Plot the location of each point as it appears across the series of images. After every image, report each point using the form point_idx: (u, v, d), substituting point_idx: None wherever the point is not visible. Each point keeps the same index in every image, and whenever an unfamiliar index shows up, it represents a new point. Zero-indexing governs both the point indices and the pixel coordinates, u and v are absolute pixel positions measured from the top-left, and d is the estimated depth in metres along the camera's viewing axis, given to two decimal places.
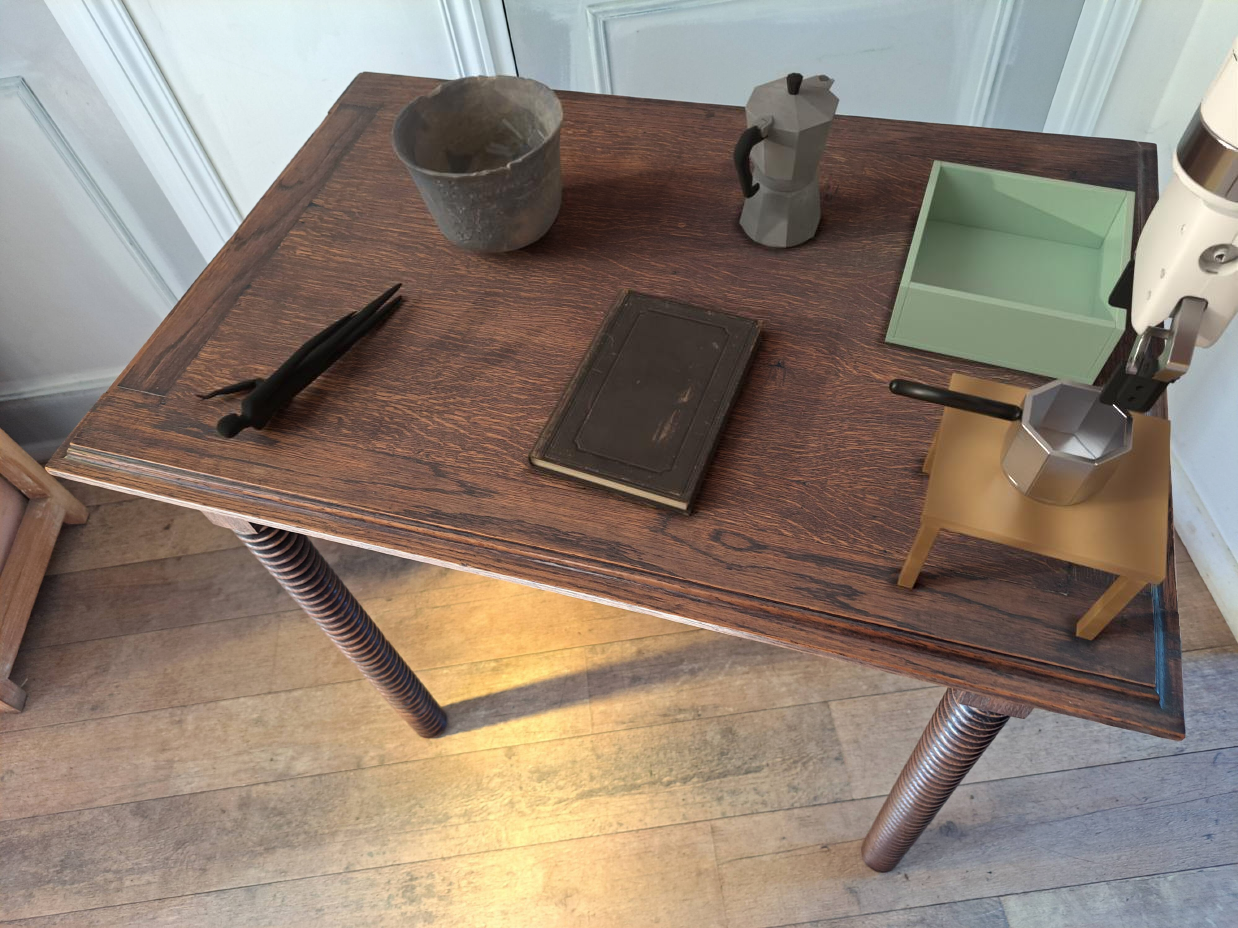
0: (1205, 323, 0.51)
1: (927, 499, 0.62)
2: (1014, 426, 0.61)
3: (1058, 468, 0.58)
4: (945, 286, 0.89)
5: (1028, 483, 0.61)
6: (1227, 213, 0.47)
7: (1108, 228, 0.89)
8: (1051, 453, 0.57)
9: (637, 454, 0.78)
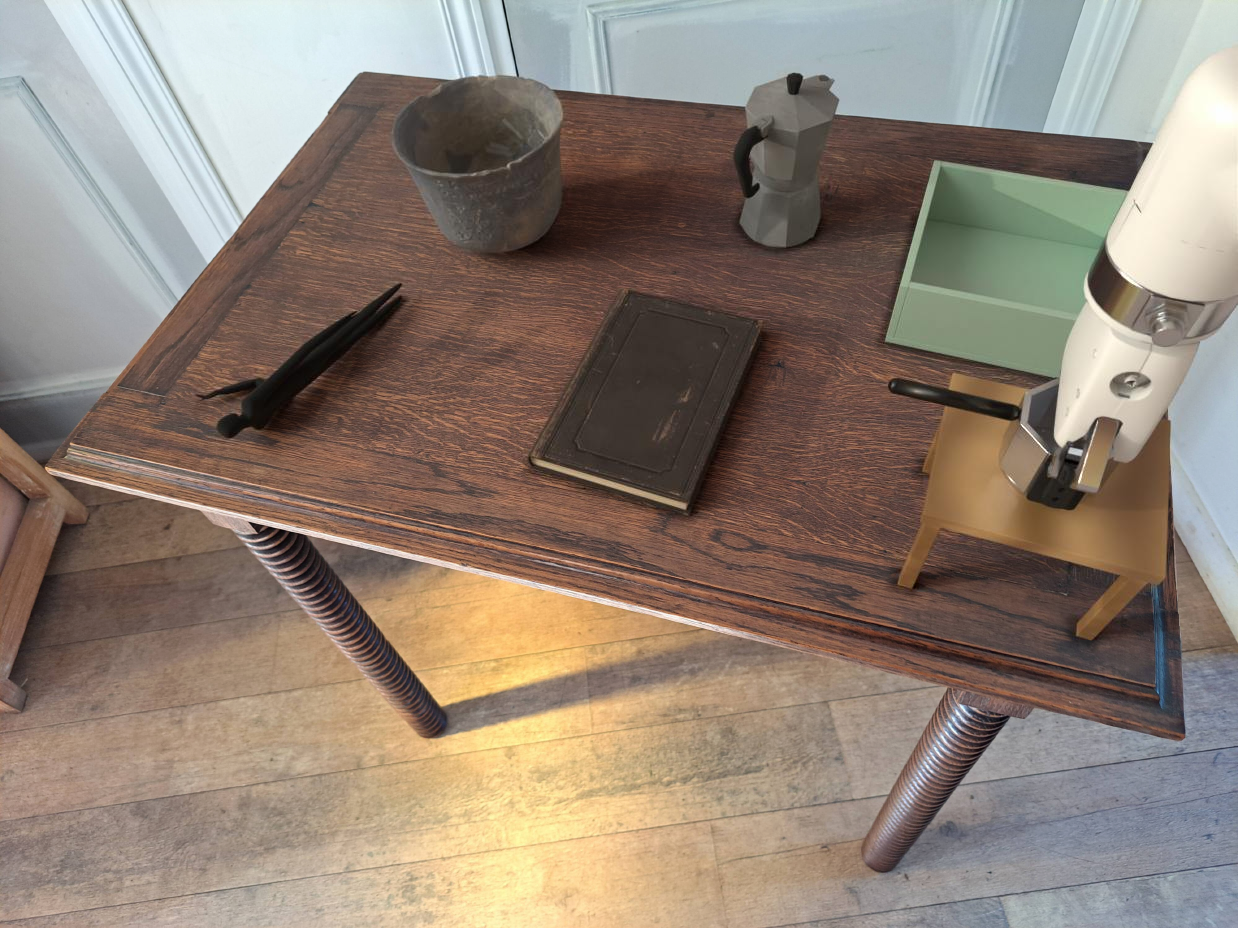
0: (1122, 441, 0.52)
1: (927, 499, 0.62)
2: (1013, 425, 0.61)
3: None
4: (945, 286, 0.89)
5: (1026, 482, 0.61)
6: (1134, 343, 0.47)
7: (1108, 228, 0.89)
8: (1049, 452, 0.57)
9: (637, 454, 0.78)
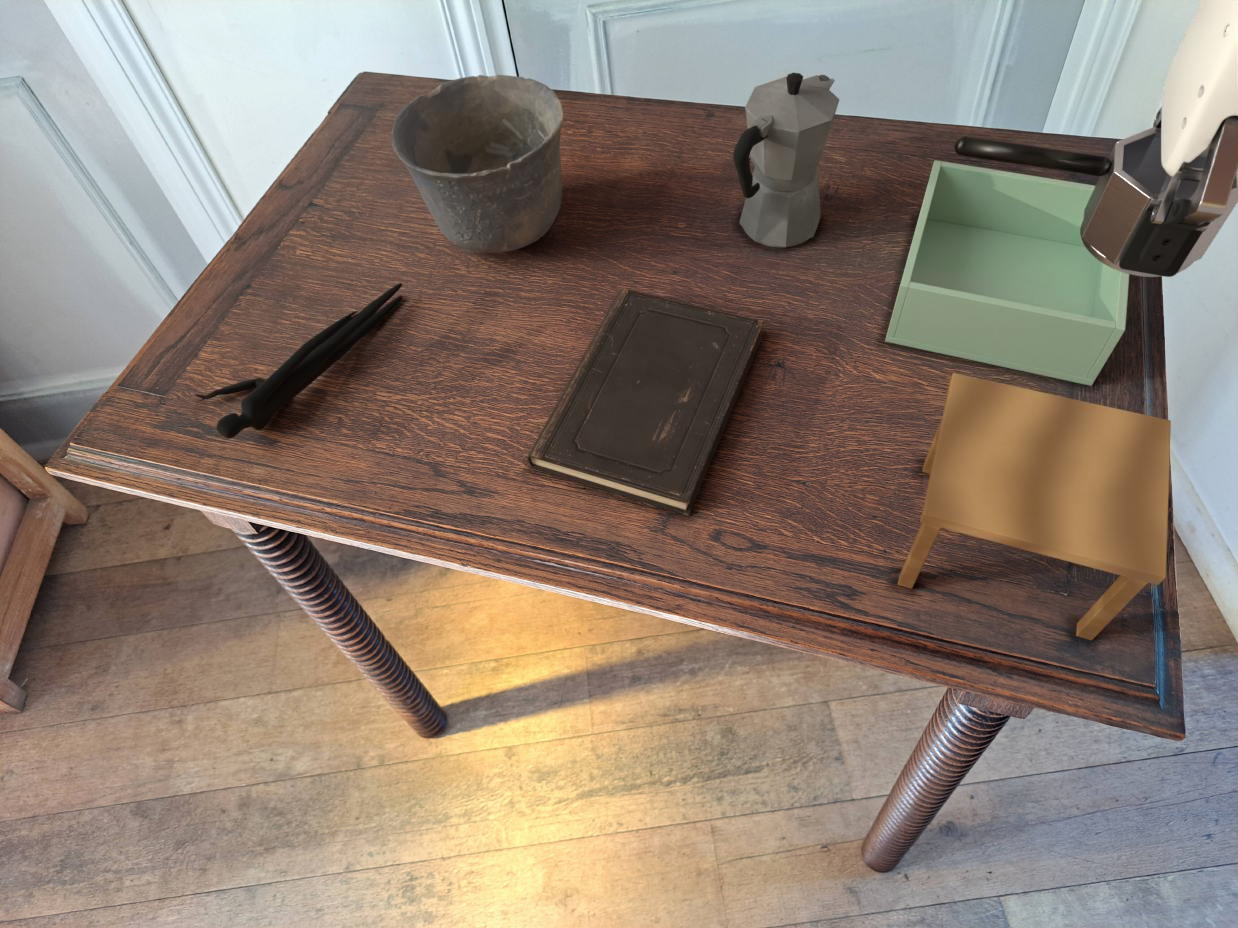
0: None
1: (927, 499, 0.62)
2: (1101, 185, 0.53)
3: None
4: (945, 286, 0.89)
5: (1118, 248, 0.52)
6: None
7: None
8: (1152, 197, 0.49)
9: (637, 454, 0.78)
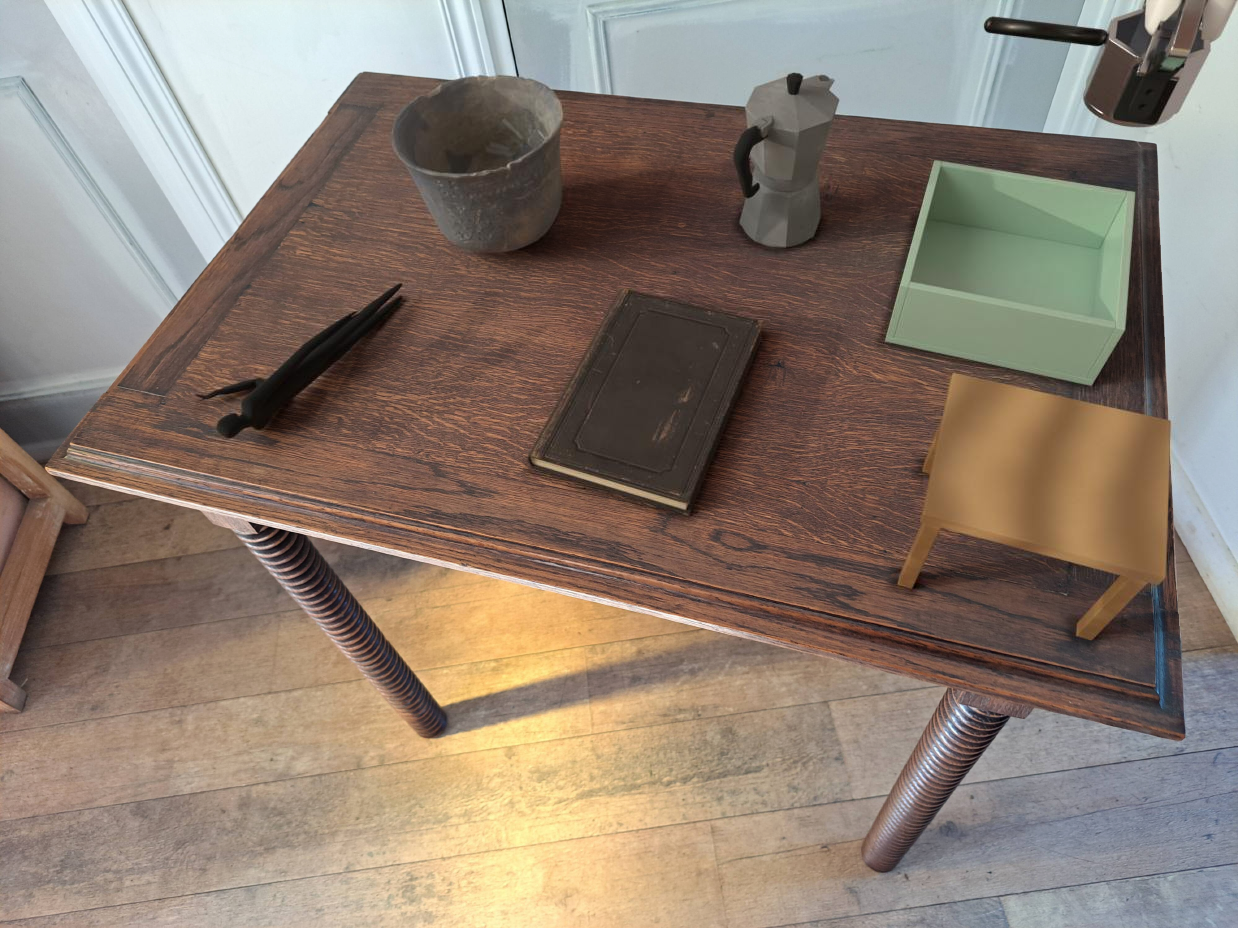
0: (1211, 9, 0.58)
1: (927, 499, 0.62)
2: (1099, 54, 0.67)
3: None
4: (945, 286, 0.89)
5: (1112, 103, 0.67)
6: None
7: (1108, 228, 0.89)
8: (1138, 56, 0.63)
9: (637, 454, 0.78)
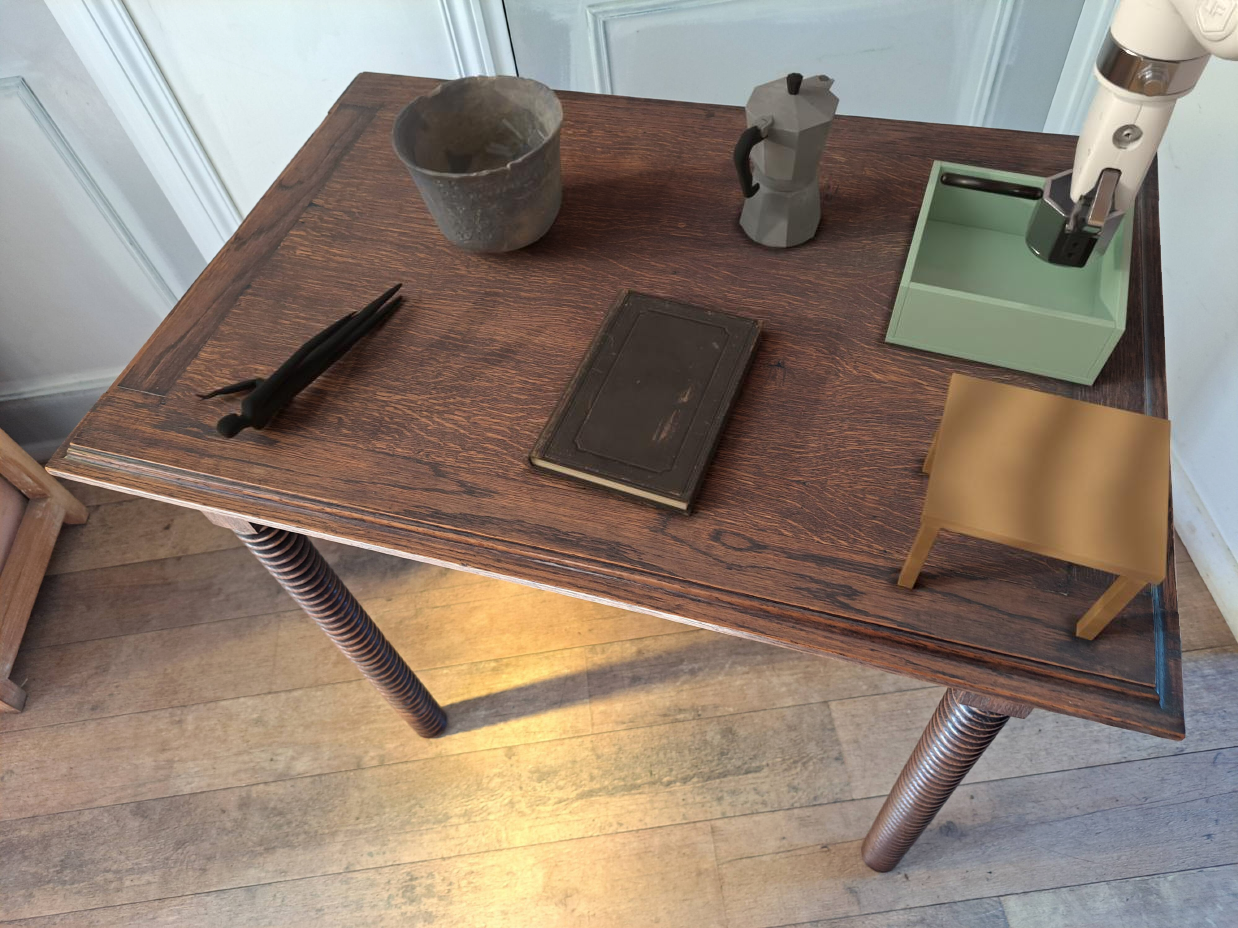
0: (1121, 189, 0.70)
1: (927, 499, 0.62)
2: (1037, 206, 0.80)
3: None
4: (945, 286, 0.89)
5: (1047, 248, 0.79)
6: (1129, 101, 0.66)
7: None
8: (1066, 215, 0.76)
9: (637, 454, 0.78)
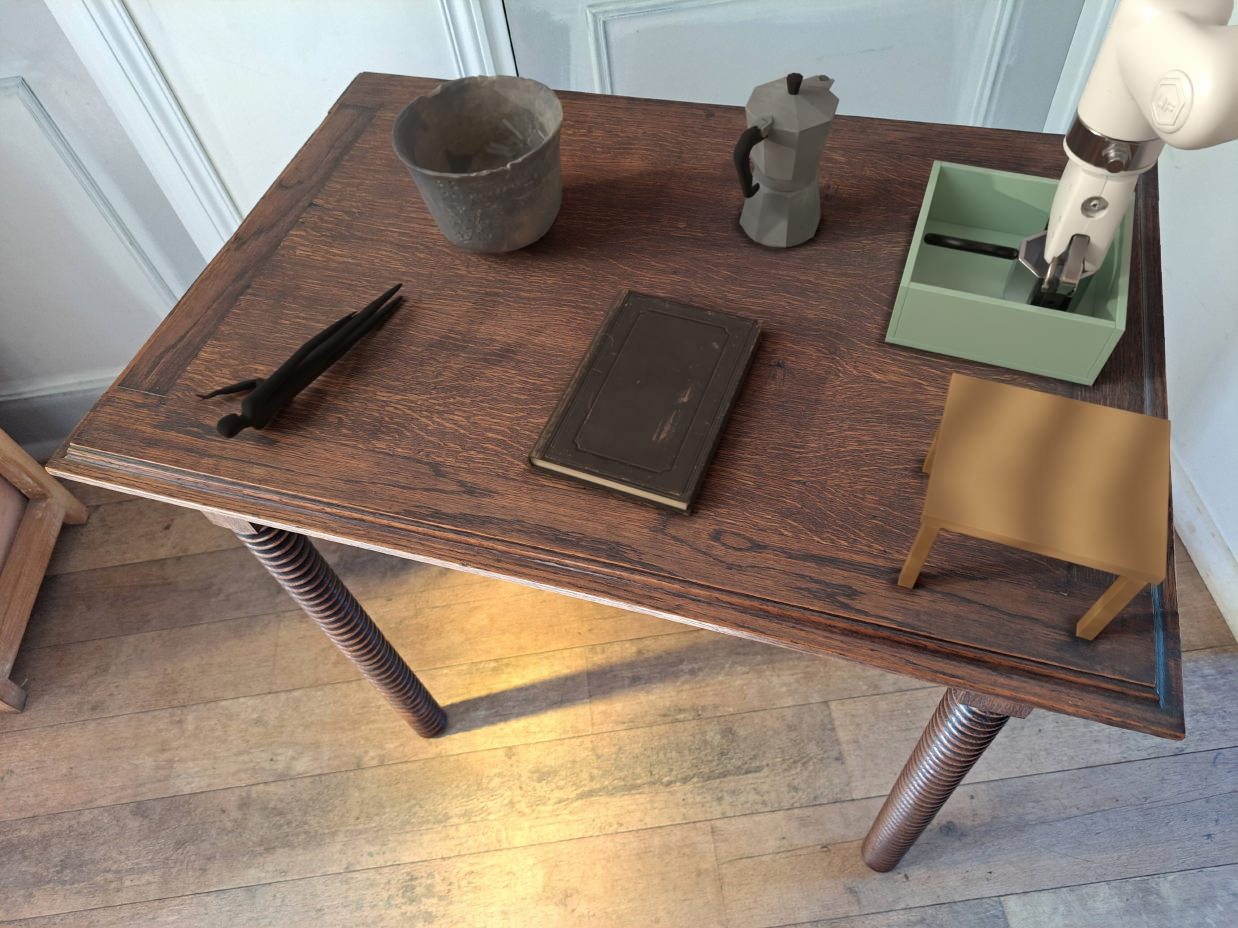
0: (1090, 253, 0.76)
1: (927, 499, 0.62)
2: (1013, 265, 0.86)
3: None
4: (945, 286, 0.89)
5: None
6: (1095, 175, 0.71)
7: None
8: (1039, 276, 0.82)
9: (637, 454, 0.78)
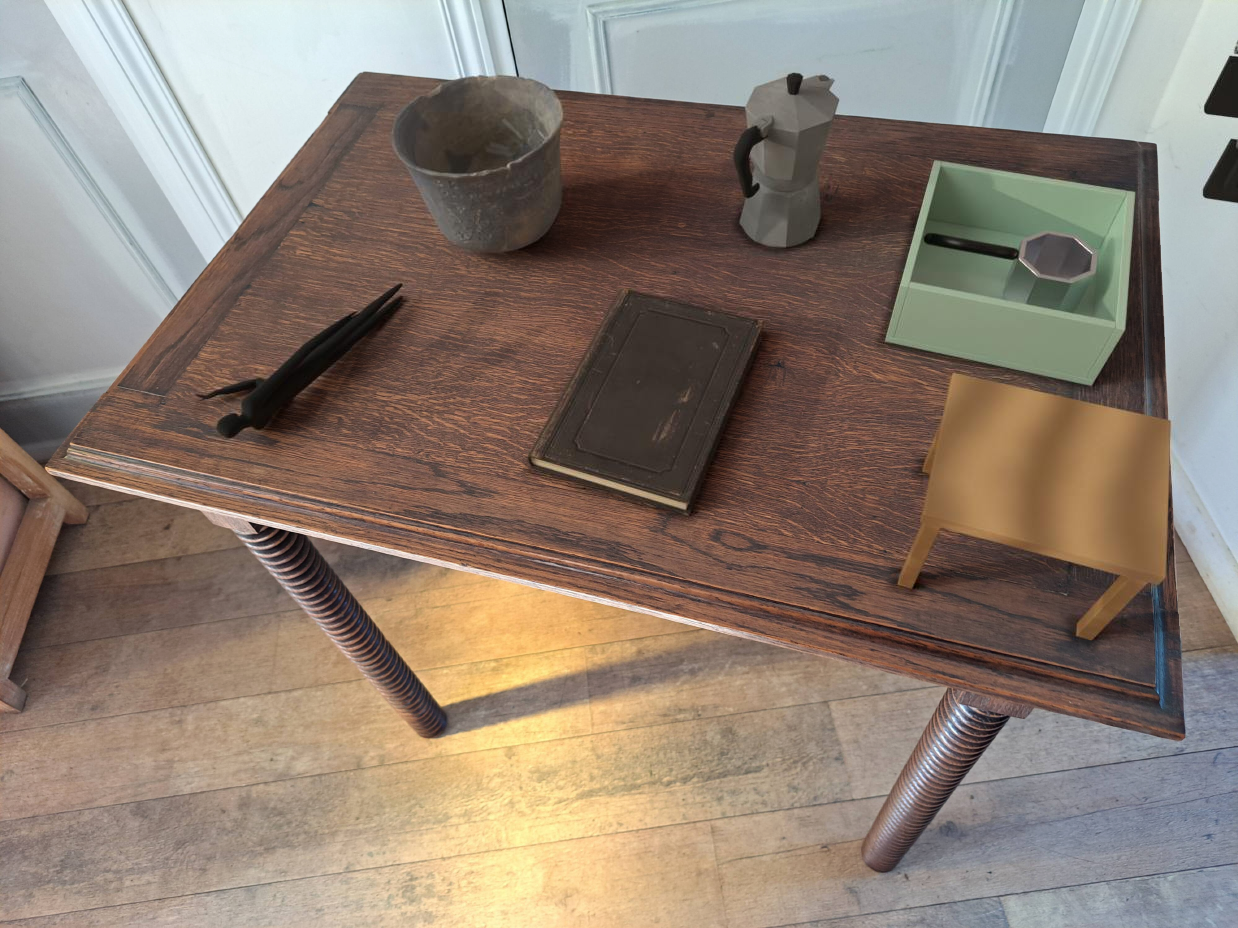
0: None
1: (927, 499, 0.62)
2: (1013, 265, 0.86)
3: (1044, 288, 0.82)
4: (945, 286, 0.89)
5: None
6: None
7: (1108, 228, 0.89)
8: (1039, 276, 0.82)
9: (637, 454, 0.78)
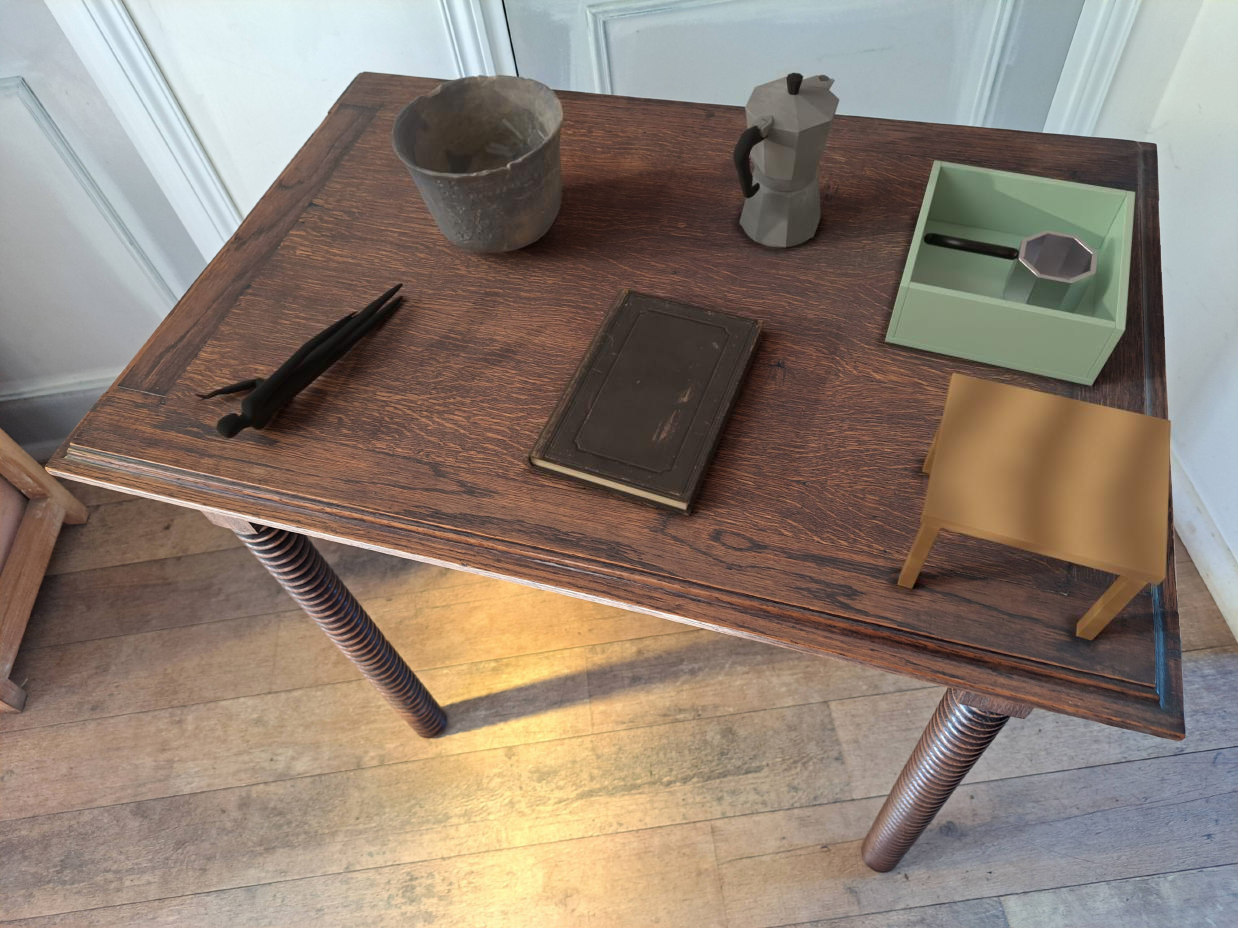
0: None
1: (927, 499, 0.62)
2: (1013, 265, 0.86)
3: (1044, 288, 0.82)
4: (945, 286, 0.89)
5: None
6: None
7: (1108, 228, 0.89)
8: (1039, 276, 0.82)
9: (637, 454, 0.78)
